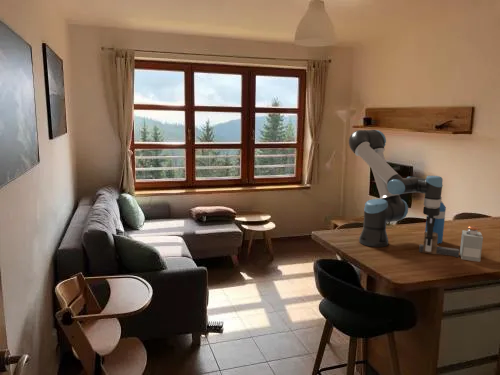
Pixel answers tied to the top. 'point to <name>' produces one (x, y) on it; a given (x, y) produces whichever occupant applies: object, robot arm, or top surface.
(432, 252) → the block
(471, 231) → the plunger
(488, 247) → the top surface
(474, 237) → the white box
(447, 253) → the rail
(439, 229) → the water bottle
